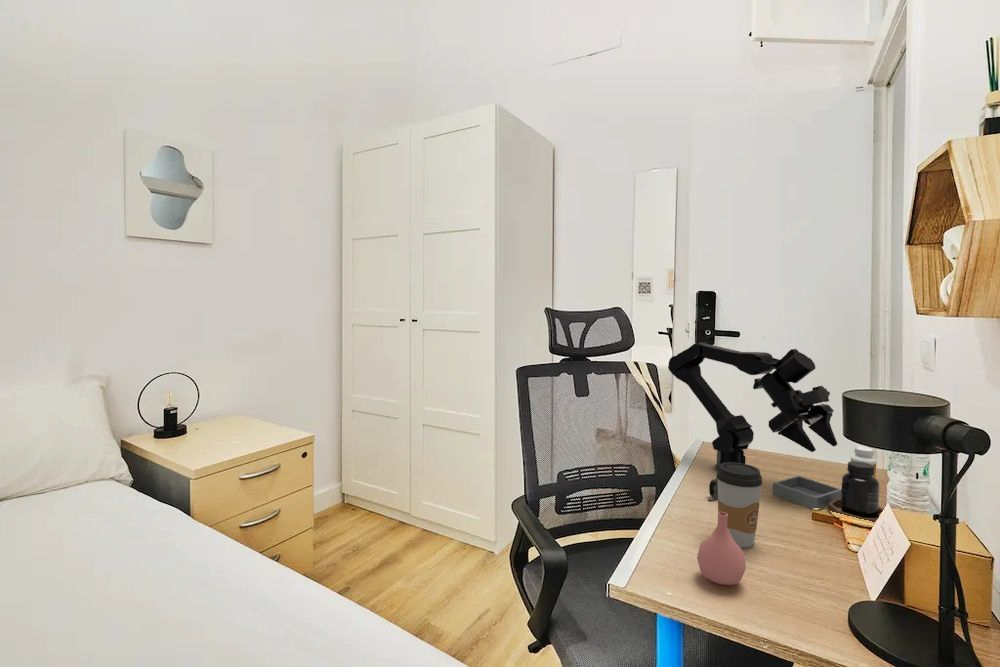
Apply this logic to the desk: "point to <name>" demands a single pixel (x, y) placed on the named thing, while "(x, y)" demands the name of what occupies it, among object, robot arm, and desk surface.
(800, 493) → the tray
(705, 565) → the pink vase
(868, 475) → the supplement bottle
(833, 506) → the brown shallow dish
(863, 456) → the supplement bottle
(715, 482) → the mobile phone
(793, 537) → the desk surface
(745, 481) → the coffee cup
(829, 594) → the desk surface
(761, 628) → the desk surface
